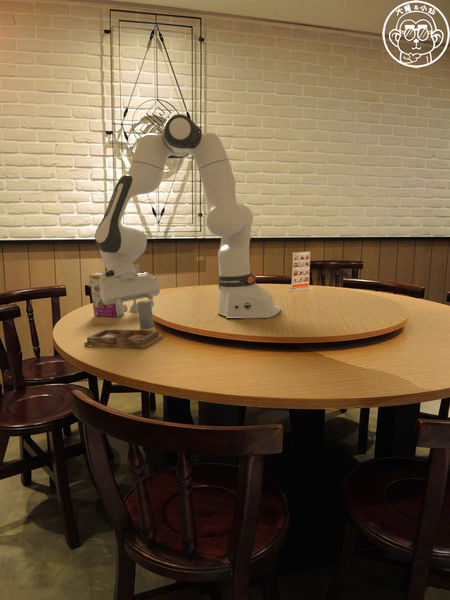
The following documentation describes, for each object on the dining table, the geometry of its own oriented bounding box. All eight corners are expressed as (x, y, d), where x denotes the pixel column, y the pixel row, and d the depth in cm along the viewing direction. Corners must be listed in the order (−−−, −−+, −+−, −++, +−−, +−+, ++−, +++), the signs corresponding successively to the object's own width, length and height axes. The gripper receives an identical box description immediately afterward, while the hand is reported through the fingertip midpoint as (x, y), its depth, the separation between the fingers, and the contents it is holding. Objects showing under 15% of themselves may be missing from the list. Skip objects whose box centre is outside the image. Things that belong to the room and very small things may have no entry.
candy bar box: (93, 316, 179) (87, 275, 176) (102, 313, 184) (96, 272, 180) (116, 317, 174) (111, 275, 171) (124, 314, 179) (119, 272, 175)
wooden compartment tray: (162, 337, 144) (161, 330, 143) (144, 349, 134) (143, 340, 133) (105, 335, 151) (104, 328, 151) (84, 345, 141) (83, 338, 141)
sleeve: (157, 330, 153) (154, 300, 151) (150, 334, 149) (146, 304, 147) (144, 329, 155) (141, 300, 153) (137, 333, 150) (134, 303, 148)
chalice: (134, 313, 179) (129, 267, 175) (123, 312, 183) (117, 267, 179) (148, 309, 184) (143, 264, 181) (136, 308, 189) (131, 264, 185)
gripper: (149, 277, 166) (164, 308, 160) (94, 286, 155) (107, 319, 149) (153, 266, 161) (169, 297, 155) (96, 274, 150) (111, 308, 144)
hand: (138, 308), depth 152 cm, fingers open, 8 cm apart
